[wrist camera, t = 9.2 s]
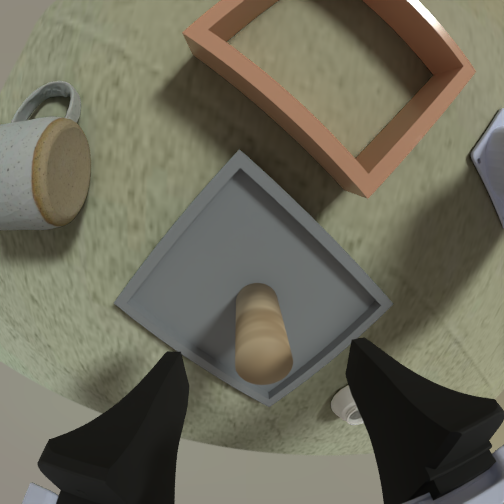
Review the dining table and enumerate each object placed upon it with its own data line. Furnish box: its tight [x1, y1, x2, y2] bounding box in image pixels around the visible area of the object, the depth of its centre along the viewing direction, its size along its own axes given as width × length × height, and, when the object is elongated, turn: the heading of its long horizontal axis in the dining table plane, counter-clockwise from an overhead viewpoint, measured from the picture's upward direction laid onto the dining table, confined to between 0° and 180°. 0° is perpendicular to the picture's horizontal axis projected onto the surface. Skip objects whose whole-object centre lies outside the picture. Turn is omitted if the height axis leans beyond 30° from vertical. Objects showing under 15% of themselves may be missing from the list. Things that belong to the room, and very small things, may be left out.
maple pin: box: [235, 283, 293, 385], centre depth 17 cm, size 3×3×7 cm
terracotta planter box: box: [182, 0, 476, 199], centre depth 14 cm, size 14×14×4 cm
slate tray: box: [114, 149, 393, 407], centre depth 21 cm, size 16×14×2 cm
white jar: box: [331, 385, 364, 425], centre depth 24 cm, size 5×3×5 cm
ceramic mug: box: [0, 81, 91, 230], centre depth 13 cm, size 11×8×8 cm
